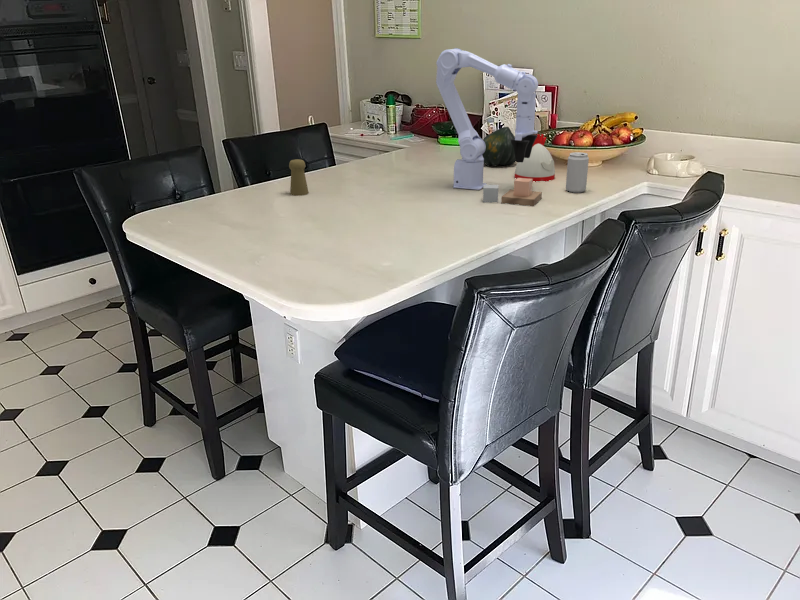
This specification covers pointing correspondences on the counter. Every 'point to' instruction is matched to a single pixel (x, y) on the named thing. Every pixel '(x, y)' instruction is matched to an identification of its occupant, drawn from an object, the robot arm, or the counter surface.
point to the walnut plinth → (521, 198)
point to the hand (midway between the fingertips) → (522, 159)
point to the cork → (298, 178)
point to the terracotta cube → (523, 187)
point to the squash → (499, 148)
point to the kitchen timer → (537, 163)
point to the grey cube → (490, 193)
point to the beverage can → (577, 172)
